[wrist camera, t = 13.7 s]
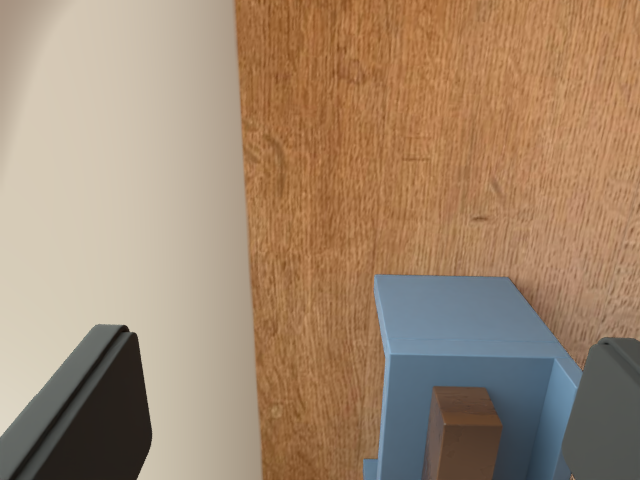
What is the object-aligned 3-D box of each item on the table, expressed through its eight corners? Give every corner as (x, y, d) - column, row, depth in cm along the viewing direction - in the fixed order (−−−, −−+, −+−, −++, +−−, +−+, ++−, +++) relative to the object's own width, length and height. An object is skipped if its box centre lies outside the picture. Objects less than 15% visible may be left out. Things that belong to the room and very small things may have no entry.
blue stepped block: (362, 470, 42) (374, 628, 31) (374, 274, 35) (395, 383, 23) (472, 474, 42) (525, 633, 30) (508, 276, 35) (596, 388, 23)
